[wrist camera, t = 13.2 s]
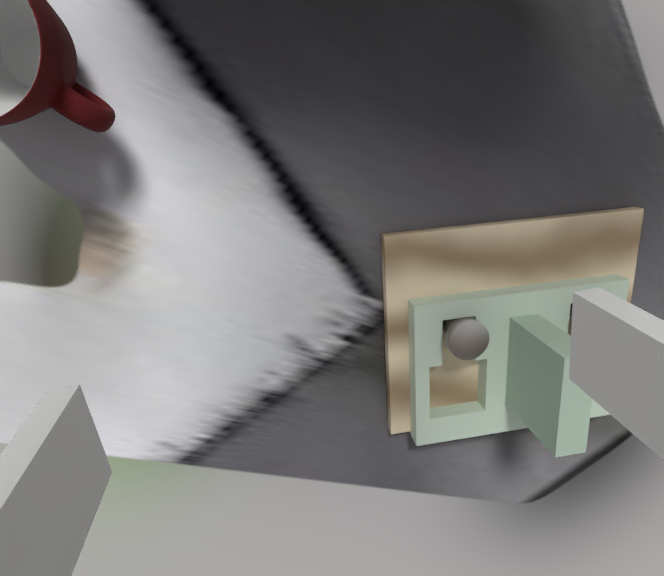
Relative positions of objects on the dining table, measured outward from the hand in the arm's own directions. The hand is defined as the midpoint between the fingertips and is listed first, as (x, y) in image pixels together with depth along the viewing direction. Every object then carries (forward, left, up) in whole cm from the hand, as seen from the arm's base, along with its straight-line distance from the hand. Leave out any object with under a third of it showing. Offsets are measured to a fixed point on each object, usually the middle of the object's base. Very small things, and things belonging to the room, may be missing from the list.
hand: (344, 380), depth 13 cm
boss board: (+11, +18, -25) cm, 33 cm away
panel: (+14, +18, -24) cm, 34 cm away
